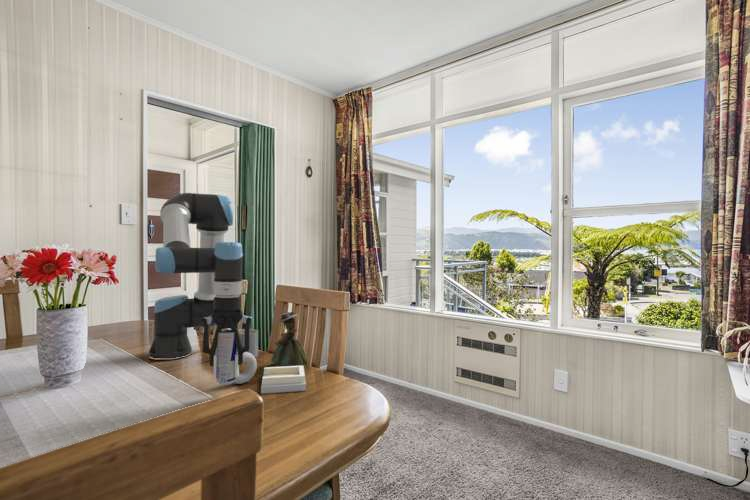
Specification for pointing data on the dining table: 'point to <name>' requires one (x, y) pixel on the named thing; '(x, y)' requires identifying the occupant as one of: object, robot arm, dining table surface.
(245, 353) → the donut
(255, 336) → the coffee mug
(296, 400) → the dining table surface
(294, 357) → the figurine
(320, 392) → the dining table surface
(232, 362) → the beverage can
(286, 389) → the tray
